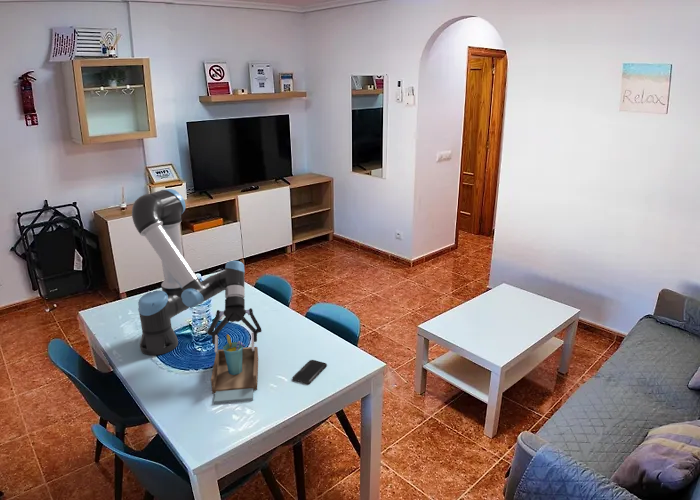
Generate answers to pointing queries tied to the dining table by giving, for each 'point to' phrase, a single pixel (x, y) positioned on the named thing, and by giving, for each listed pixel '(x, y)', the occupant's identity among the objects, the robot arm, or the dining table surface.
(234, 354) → the cup
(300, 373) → the phone
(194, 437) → the dining table surface
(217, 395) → the panel
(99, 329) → the dining table surface
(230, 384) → the tray
